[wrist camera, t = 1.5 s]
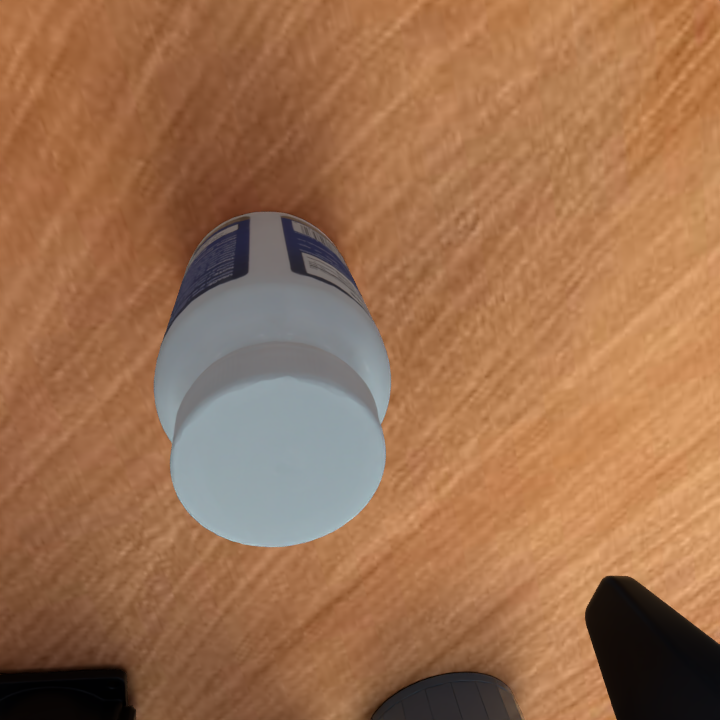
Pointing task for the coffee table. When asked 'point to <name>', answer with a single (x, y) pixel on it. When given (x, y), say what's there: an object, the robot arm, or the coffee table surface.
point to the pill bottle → (272, 385)
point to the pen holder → (452, 700)
